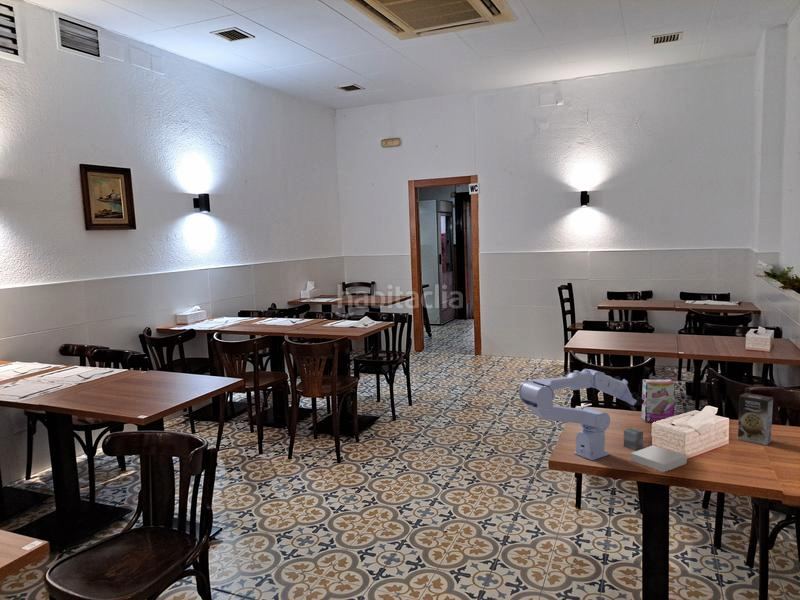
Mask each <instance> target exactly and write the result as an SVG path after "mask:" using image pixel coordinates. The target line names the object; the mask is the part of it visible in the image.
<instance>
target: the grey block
mask: <svg viewBox="0 0 800 600" xmlns="http://www.w3.org/2000/svg"><path fill="white" fill-rule="evenodd" d="M623 447H624V448H625V449H626V448H627V449H630V450H631V451H632V450H633V451H638V450H641V449H644V430H640V429H637V428H634V427H631V428H627V429H624V430H623Z"/></svg>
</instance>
